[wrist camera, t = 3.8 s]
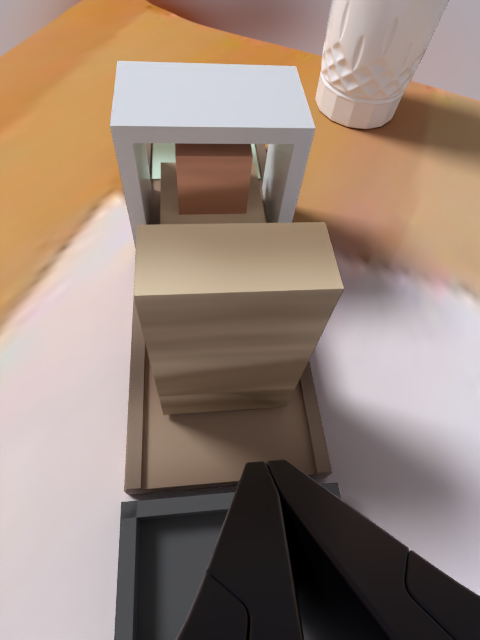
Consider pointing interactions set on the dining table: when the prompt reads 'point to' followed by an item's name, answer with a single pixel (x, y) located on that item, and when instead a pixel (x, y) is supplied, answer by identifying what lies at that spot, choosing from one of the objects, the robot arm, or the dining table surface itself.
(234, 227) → the wood grain block
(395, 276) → the dining table surface
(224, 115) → the tunnel
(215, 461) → the track
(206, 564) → the tray
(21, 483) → the dining table surface
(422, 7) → the white cup
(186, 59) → the dining table surface
